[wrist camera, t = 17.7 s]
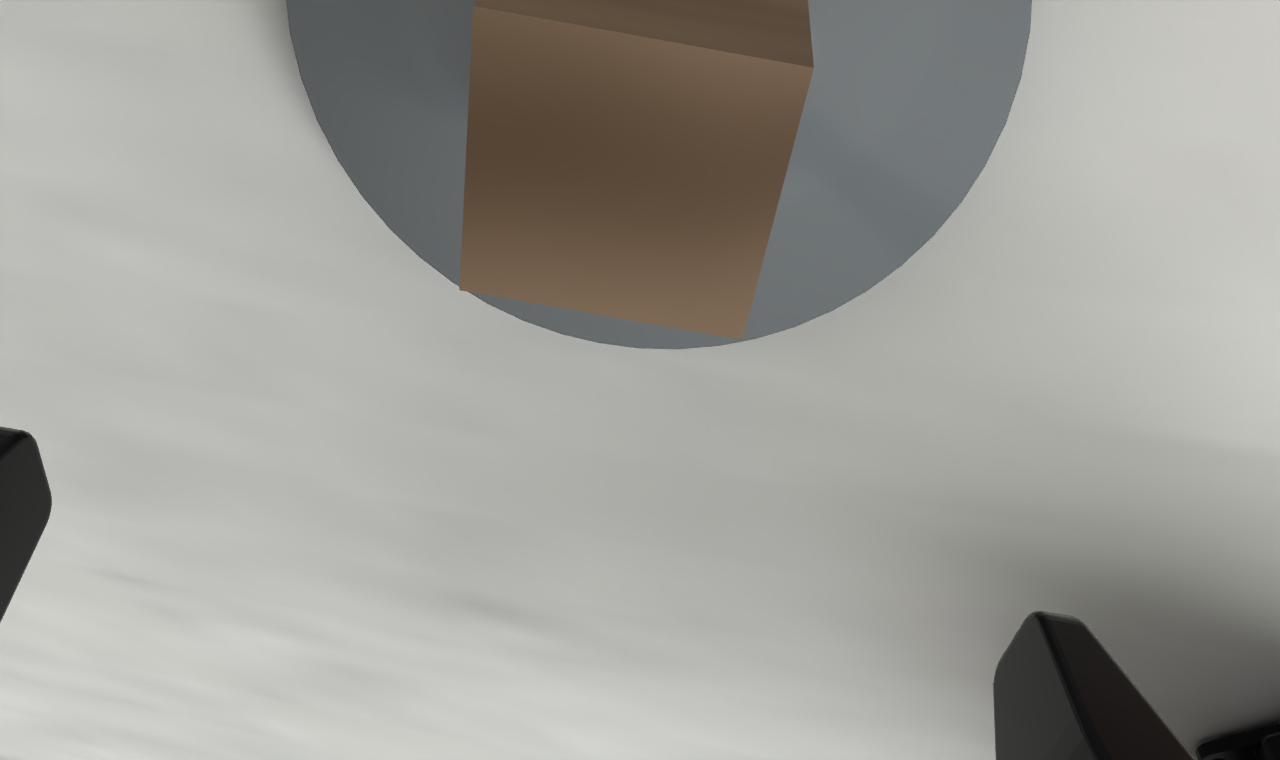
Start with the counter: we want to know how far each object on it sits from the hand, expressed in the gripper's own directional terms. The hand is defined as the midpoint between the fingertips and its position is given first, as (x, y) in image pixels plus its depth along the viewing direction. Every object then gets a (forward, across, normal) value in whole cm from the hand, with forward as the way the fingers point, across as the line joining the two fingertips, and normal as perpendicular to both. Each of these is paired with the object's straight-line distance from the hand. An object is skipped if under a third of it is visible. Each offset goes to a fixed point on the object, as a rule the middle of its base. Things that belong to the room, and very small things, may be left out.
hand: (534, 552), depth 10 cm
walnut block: (+12, 0, 0) cm, 12 cm away
